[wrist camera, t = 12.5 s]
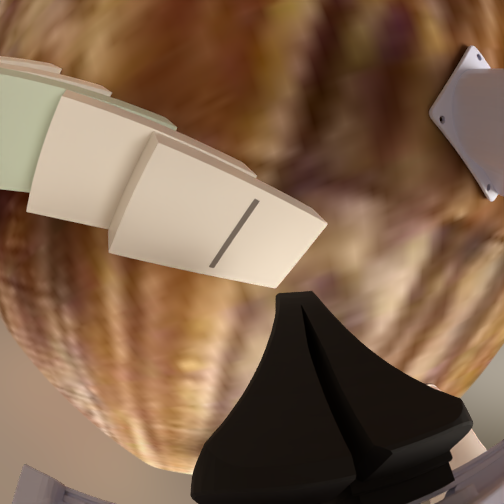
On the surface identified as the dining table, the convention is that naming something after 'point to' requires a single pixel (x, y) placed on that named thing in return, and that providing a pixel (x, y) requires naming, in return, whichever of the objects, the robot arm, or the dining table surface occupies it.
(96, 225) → the domino
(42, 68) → the domino
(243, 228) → the domino
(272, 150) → the dining table surface
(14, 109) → the domino
